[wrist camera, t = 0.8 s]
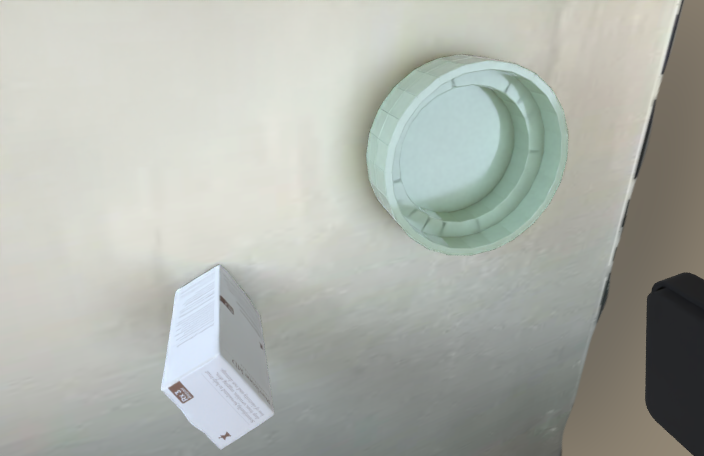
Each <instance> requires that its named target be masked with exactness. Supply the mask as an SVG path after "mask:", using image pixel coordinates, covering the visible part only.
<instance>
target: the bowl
mask: <svg viewBox="0 0 704 456" xmlns="http://www.w3.org/2000/svg"><path fill="white" fill-rule="evenodd" d="M567 155H568V129H567V124H566V120H565V115H564V111H563V108H562V106H561V105H560V103H559V101H558V99H557V97H556V95H555V93H554V92H553V90H552V89H551V88H550V87H549V86H548V85H547V84H546V83H545V82H544V81H543V80H542V79H541V78H540V77H539V76H538V75H537V74H536V73H534V72H532V71H530V70H528V69H526V68H524V67H522V66H520V65H517V64H515V63H512V62H507V61H502V60H497V59H492V58H487V57H481V56H473V55H464V54H462V55H461V54H459V55H453V56H447V57H442V58H438V59H435V60H433V61H431V62H429V63H427V64H424V65H422V66H420V67H418V68H416V69H415V70H413V71H412V72H411V73H410V74H409V75H407V76H406V77H405V78H404V79H403V80H402V81H400V82H399V83H398V84H397V85H396V86H395V87H394V88H393V89H392V91H391V92H390V93H389V95H388V96H387V98H386V99H385V100H384V102H383V103H382V104H381V106H380V108H379V109H378V112H377V114H376V117H375V119H374V122H373V124H372V127H371V129H370V132H369V139H368V146H367V154H366V159H367V167H368V175H369V181H370V183H371V186H372V188H373V190H374V193H375V195H376V198H377V200H378V201H379V202H380V204H381V205H382V206H383V207H384V208H385V210H386V211H387V212H388V213H389V215H390V216H391V217H392V218H393V219H394V220H395V221H396V222H397V224H398V225H399V226H400V227H401V228H402V229H403V230H404V231H405V232H406V234H407V235H408V236H409V237H410V238H412V239H413V240H415V241H416V242H418V243H419V244H421V245H422V246H424V247H425V248H427V249H429V250H433V251H436V252H440V253H443V254H446V255H475V254H479V253H483V252H487V251H491V250H494V249H496V248H498V247H500V246H502V245H504V244H506V243H508V242H510V241H512V240H514V238H516V237H518V236H519V235H520V234H521V233H523V232H524V231H525V230H526V229H527V228H529V227H530V226H531V225H532V224H533V223H534V222H535V221H536V220H537V219H538V217H539V216H540V215H541V214H542V212H543V211H544V210H545V209H546V207H547V206H548V205H549V204H550V202H551V200H552V198H553V196H554V194H555V192H556V190H557V188H558V187H559V185H560V183H561V182H560V181H561V179H562V176H563V172H564V168H565V165H566V161H567Z"/></svg>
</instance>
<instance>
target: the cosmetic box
mask: <svg viewBox="0 0 704 456" xmlns="http://www.w3.org/2000/svg"><path fill="white" fill-rule="evenodd" d="M161 390H162V392H163V393H164V394H165V395H166V396H167V397H168V398H169V399H170V400H171V401H172V402H173V403H174V404H175V405H176V406H177V407H178V408H179V409H180V410H181V411H182V412H183V414H184V415H185V417H186V418H187V420H188V421H189V422H190V423H191V424H192V425H193V426H194V427H196V428H197V429H199V430H201V431H202V432H203V433H204V434H205V435H206V436H207V437H208V438H209V439H210V440H211V441H212V442H213V443H214V444H215V445H216V446H217V447H218V448H219V449H223V448H224V447H226V446H227V445H229V444H231V443H232V442H234V441H235V440H237V439H238V438H240V437H241V436H243V435H244V434H246V433H247V432H249V431H251V430H252V429H254V428H255V427H257V426H258V425H260V424H261V423H263V422H264V421H266V420H267V419H268V418H270V417H271V416H273V415H274V413H275V412H274V407H273V401H272V393H271V386H270V378H269V372H268V365H267V358H266V351H265V344H264V337H263V330H262V323H261V317H260V314H259V312H258V311H257V309H256V308H255V306H254V305H253V303H252V302H251V301H250V299H249V298H248V296H247V295H246V294H245V292H244V291H243V290H242V289H241V287H240V286H239V285H238V284H237V282H236V281H235V280H234V279H233V278H232V276H231V275H230V274H229V273H228V271H227V270H226V269H225V268H224V267H223V266H222V265H218V266H216V267H214V268H213V269H211V270H209V271H207V272H206V273H204V274H202V275H201V276H199V277H198V278H196V279H194V280H193V281H191V282H189V283H188V284H186V285H185V286H183V287H182V288H180V289H179V290H177V291H176V293H175V300H174V307H173V314H172V321H171V327H170V334H169V341H168V348H167V355H166V361H165V368H164V375H163V381H162V387H161Z"/></svg>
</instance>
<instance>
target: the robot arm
mask: <svg viewBox="0 0 704 456" xmlns="http://www.w3.org/2000/svg"><path fill="white" fill-rule="evenodd" d="M645 391H646V393H645V401H646V406H647V409H648V411H649V413H650V414H651V416H652V417H653V418H654V419H655V421H656V422H657V423H659V424H660V425H661V426H662V427H663V428H664V429H665V430H666V431H667V432H668V433H669V434H671V435H672V436H673V437H674V438H675V439H676V440H677V441H678V442H679V443H681V445H683V446H684V447H685V448H686V449H687V450H688V451H689V452H690V453H691V454H692V455H694V456H704V280H703V279H701V278H700V277H698V276H696V275H694V274H691V273H681V274H678V275H676V276H673V277H671V278H667V279H665V280H662V281H659V282H657V283H655V284H654V286H653V288H652V292H651V293H650V294H649V295H648V297H647V328H646V390H645Z"/></svg>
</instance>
